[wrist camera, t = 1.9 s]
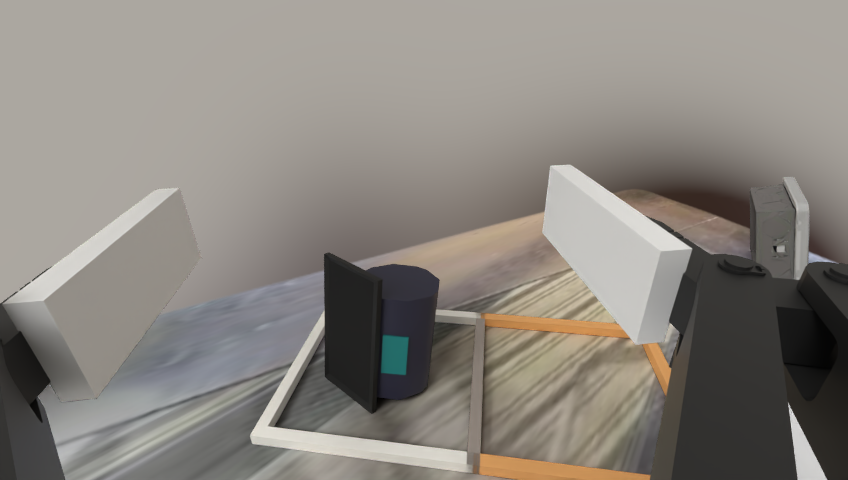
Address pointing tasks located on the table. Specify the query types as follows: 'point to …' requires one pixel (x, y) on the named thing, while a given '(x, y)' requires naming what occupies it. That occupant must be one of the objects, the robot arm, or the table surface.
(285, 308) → the table surface
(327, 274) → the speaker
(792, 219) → the electrical switch
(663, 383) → the rectangular frame
